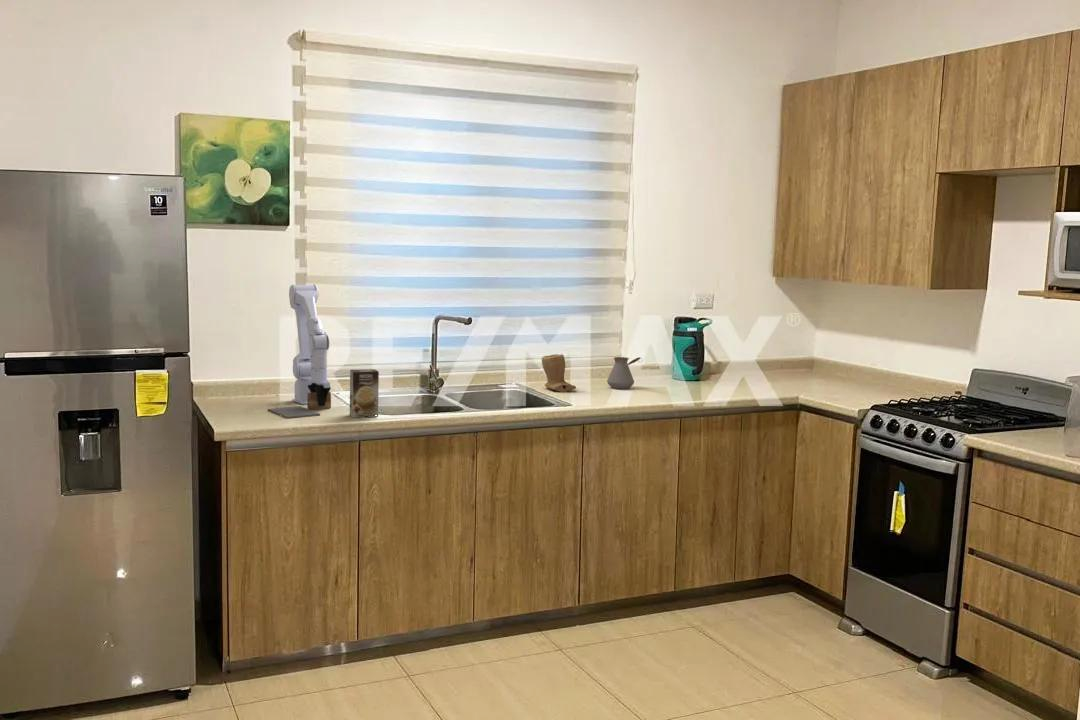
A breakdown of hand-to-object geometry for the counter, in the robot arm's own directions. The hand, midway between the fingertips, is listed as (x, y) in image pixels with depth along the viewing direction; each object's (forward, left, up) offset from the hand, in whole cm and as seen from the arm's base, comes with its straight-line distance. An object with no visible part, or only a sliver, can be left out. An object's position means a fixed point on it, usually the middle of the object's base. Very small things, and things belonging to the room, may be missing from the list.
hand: (319, 404), depth 363 cm
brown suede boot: (+8, +102, -2) cm, 102 cm away
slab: (0, 0, -2) cm, 2 cm away
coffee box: (+20, +8, -2) cm, 22 cm away
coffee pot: (+22, +128, -2) cm, 130 cm away
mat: (+3, -11, -1) cm, 11 cm away
